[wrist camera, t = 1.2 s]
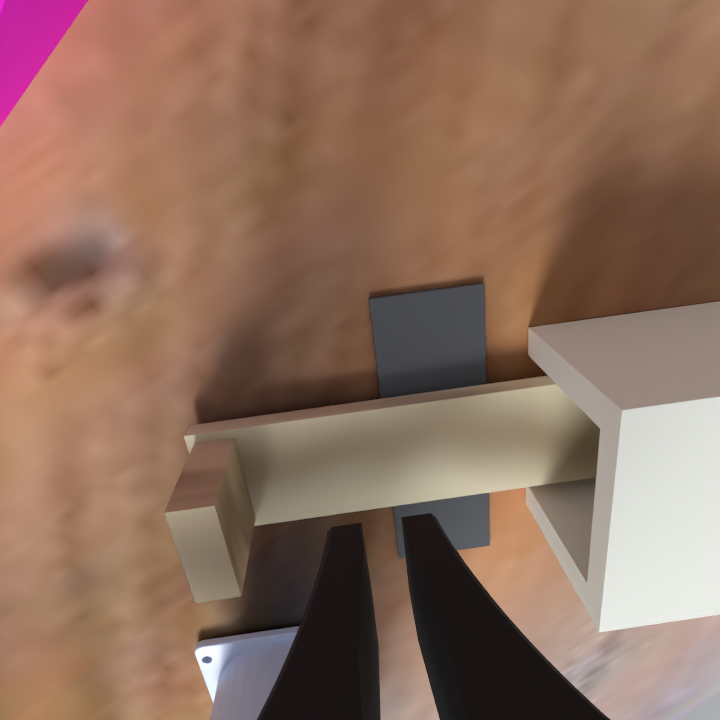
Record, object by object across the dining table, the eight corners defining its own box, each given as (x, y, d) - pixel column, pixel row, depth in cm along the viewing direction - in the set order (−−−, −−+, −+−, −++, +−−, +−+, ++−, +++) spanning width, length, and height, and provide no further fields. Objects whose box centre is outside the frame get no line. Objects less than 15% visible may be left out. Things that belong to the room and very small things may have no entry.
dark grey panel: (488, 542, 24) (489, 545, 24) (398, 555, 24) (399, 558, 24) (482, 282, 19) (484, 283, 19) (368, 298, 19) (369, 299, 19)
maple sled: (750, 443, 22) (855, 516, 18) (216, 519, 22) (190, 612, 18) (773, 344, 20) (897, 398, 16) (188, 425, 20) (151, 504, 16)
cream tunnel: (692, 478, 24) (825, 598, 17) (525, 502, 23) (598, 632, 17) (724, 300, 20) (906, 370, 14) (528, 327, 20) (621, 409, 14)
